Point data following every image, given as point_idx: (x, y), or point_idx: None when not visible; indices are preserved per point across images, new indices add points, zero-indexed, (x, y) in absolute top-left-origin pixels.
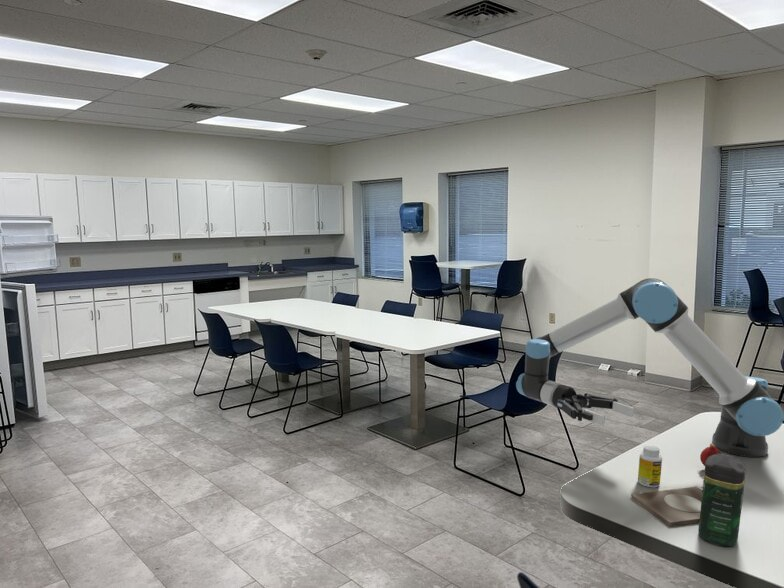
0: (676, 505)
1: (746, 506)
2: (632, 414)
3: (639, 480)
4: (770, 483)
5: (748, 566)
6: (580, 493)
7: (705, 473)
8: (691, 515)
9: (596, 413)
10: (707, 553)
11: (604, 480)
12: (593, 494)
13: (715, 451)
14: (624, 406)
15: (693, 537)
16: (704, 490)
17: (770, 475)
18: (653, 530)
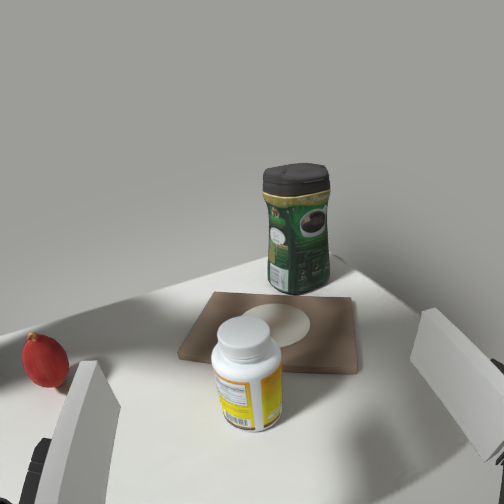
0: (297, 320)
1: (169, 308)
2: (110, 395)
3: (281, 411)
4: (54, 325)
5: None
6: None
7: (329, 186)
8: (297, 302)
9: (463, 344)
10: (343, 268)
11: (366, 455)
12: (434, 398)
13: (45, 336)
14: (84, 418)
15: (334, 285)
16: (326, 215)
17: (24, 334)
18: (381, 302)
